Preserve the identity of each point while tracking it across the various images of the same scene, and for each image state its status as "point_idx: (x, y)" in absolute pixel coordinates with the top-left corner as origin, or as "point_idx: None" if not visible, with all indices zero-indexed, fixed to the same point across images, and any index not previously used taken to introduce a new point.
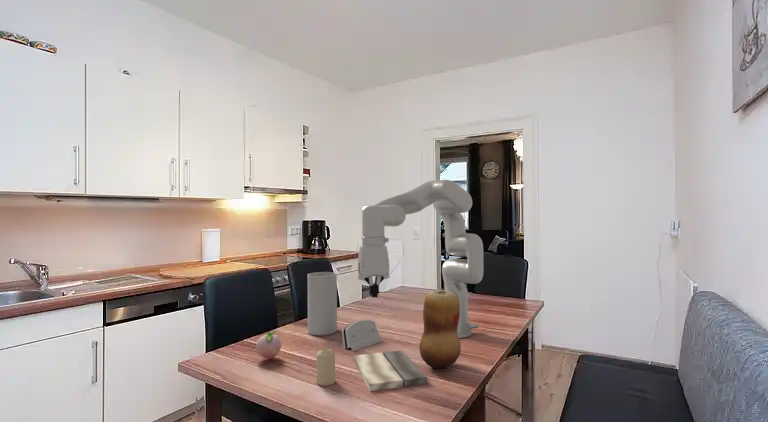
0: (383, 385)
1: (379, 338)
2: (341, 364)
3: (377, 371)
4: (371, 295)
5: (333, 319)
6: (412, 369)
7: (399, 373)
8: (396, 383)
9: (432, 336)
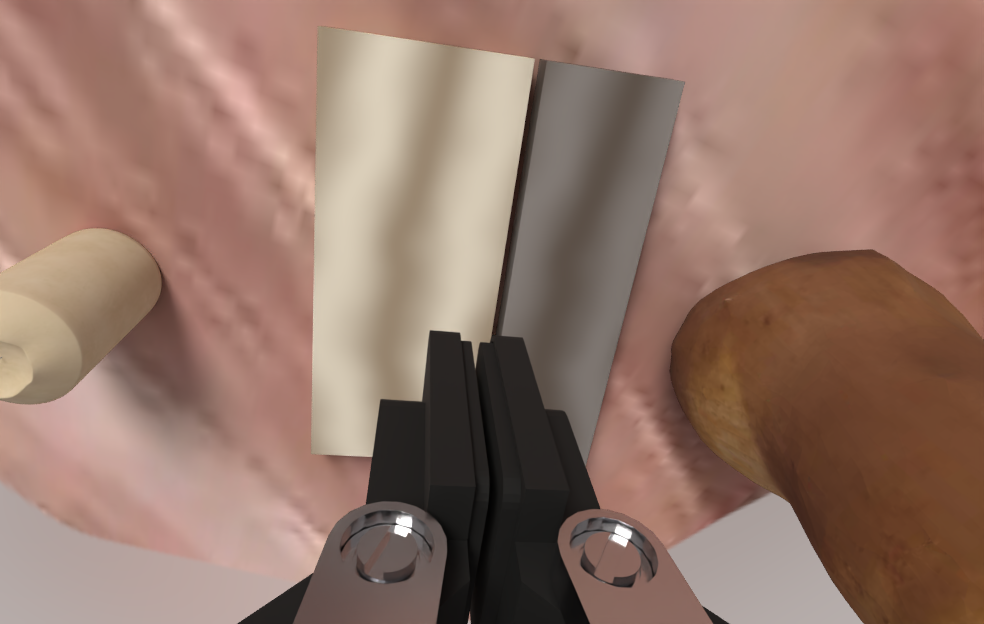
0: None
1: None
2: (229, 46)
3: (393, 342)
4: (424, 386)
5: None
6: (571, 380)
7: None
8: None
9: (764, 477)
